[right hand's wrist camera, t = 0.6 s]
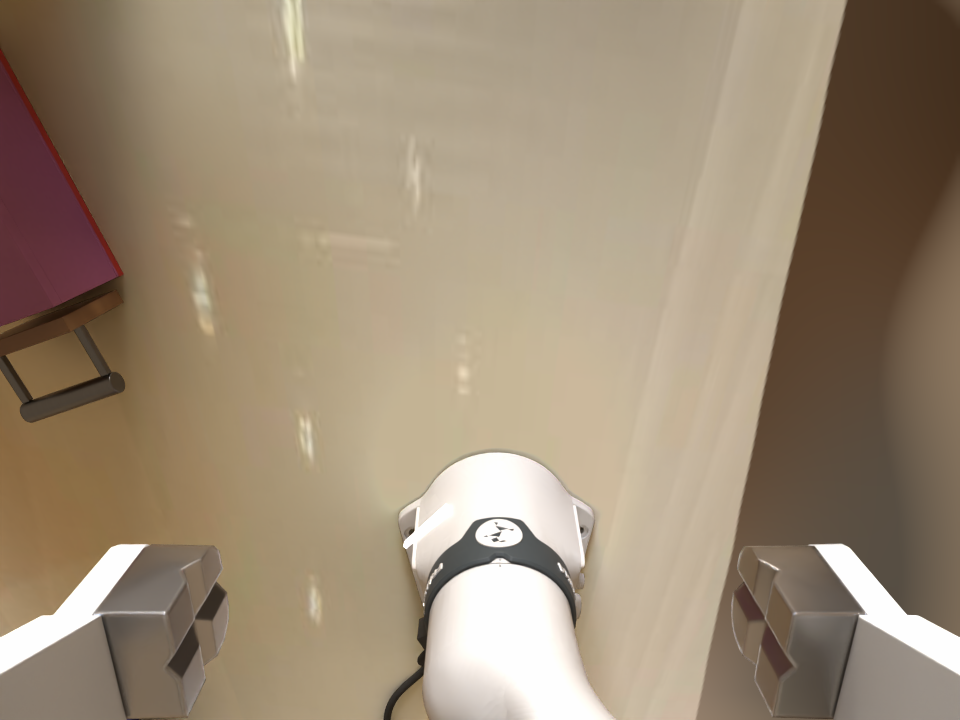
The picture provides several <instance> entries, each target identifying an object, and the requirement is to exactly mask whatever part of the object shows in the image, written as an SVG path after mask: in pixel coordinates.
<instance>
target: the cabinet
mask: <svg viewBox="0 0 960 720" xmlns="http://www.w3.org/2000/svg"><path fill="white" fill-rule="evenodd" d="M121 275H123V272H122V270H121V268H120V267H119V265H118V263H117V261H116V259H115V258H114V256H113V254H112V252H111V250H110V248H109V247H108V245H107V243H106V241H105V239H104V237H103V236H102V234H101V232H100V230H99V228H98V226H97V225H96V223H95V221H94V219H93V217H92V215H91V214H90V212H89V210H88V208H87V206H86V204H85V203H84V201H83V199H82V197H81V195H80V193H79V192H78V190H77V188H76V186H75V184H74V182H73V181H72V179H71V177H70V175H69V173H68V171H67V170H66V168H65V166H64V164H63V162H62V160H61V159H60V157H59V155H58V153H57V151H56V149H55V148H54V146H53V144H52V142H51V140H50V139H49V137H48V135H47V133H46V131H45V129H44V128H43V126H42V124H41V122H40V120H39V118H38V117H37V115H36V113H35V111H34V109H33V107H32V106H31V104H30V102H29V100H28V98H27V96H26V95H25V93H24V91H23V89H22V87H21V85H20V84H19V82H18V80H17V78H16V76H15V74H14V73H13V71H12V69H11V67H10V65H9V63H8V62H7V60H6V58H5V56H4V54H3V52H2V51H1V49H0V326H3V325H6V324H9V323H11V322H14V321H17V320H20V319H23V318H25V317H28V316H31V315H34V314H36V313H39V312H42V311H45V310H47V309H50V308H53V307H55V306H57V305H59V304H62V303H64V302H66V301H68V300H70V299H72V298H74V297H76V296H78V295H81V294H83V293H85V292H87V291H89V290H91V289H93V288H95V287H97V286H100V285H102V284H104V283H106V282H108V281H110V280H112V279H114V278H116V277H119V276H121Z"/></svg>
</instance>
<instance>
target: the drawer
mask: <svg viewBox="0 0 960 720" xmlns="http://www.w3.org/2000/svg"><path fill="white" fill-rule="evenodd" d="M122 303H123V301H122V299H121V297H120V295H119V293H118V292H117V290H114V291H111V292H108V293H105V294H103V295H100V296H97V297H94V298H92V299H89V300H86V301H83V302H80V303H78V304H75V305H72V306H69V307H67V308H64V309H61V310H58V311H56V312H53V313H50V314H47V315H44V316H42V317H39V318H36V319H33V320H31V321H28V322H25V323H23V324H21V325H19V326H17V327H14V328H12V329H10V330H8V331H6V332H4V333H2V334H0V369H1V371H2V372H3V374H4V375H5V377H6V379H7V380H8V382H9V383H10V385H11V386H12V388H13V389H14V391H15V392H16V394H17V396H18V397H19V399H20V400H21V402H22V403H23V404H22V405H21V407H20V413H21V416H22V417H23V419H24V420H25V421H27V422H30V423H33V422H36V421H39V420H42V419H45V418H48V417H51V416H53V415H56V414H59V413H62V412H65V411H68V410H71V409H74V408H77V407H80V406H83V405H86V404H89V403H92V402H95V401H98V400H100V399H103V398H106V397H109V396H112V395H115V394H118V393H121V392H123V391H124V389H125V382H124V380H123V378H122V376H121V375H120V374H119V373H117V372H112V373H111V370H110V369H109V367H108V365H107V364H106V362H105V360H104V358H103V357H102V355H101V353H100V352H99V350H98V348H97V346H96V345H95V343H94V341H93V340H92V338H91V336H90V334H89V333H88V331H87V329H86V328H85V326H84V324H86V323H88V322H89V321H91V320H93V319H95V318H97V317H98V316H100V315H102V314H104V313H106V312H107V311H109V310H111V309H113V308H115V307H116V306H118V305H120V304H122ZM73 330H74V331H75V333H76V335H77V336H78V338H79V340H80V341H81V343H82V345H83V347H84V348H85V350H86V352H87V353H88V355H89V357H90V358H91V360H92V362H93V363H94V365H95V367H96V369H97V370H98V372H99V374H100V375H101V376H100V377H97V378H94V379H91V380H88V381H86V382H83V383H80V384H77V385H74V386H71V387H68V388H65V389H62V390H59V391H57V392H54V393H51V394H48V395H45V396H42V397H39V398H36V399H33V398H32V396H31V394H30V393H29V391H28V390H27V388H26V387H25V385H24V383H23V382H22V380H21V379H20V377H19V376H18V374H17V373H16V371H15V369H14V368H13V366H12V365H11V363H10V362H9V360H8V358H7V357H6V355H7V354H10V353H13V352H16V351H18V350H21V349H24V348H27V347H30V346H32V345H35V344H38V343H41V342H44V341H46V340H49V339H52V338H55V337H58V336H60V335H63V334H66V333H69V332H71V331H73ZM32 399H33V400H32Z"/></svg>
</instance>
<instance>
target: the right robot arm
mask: <svg viewBox="0 0 960 720" xmlns="http://www.w3.org/2000/svg"><path fill="white" fill-rule="evenodd" d="M398 524H399V529H400V532H401V535H402V539H403V542H404V547H405V549H406V552H407V555H408V559H409V562H410V565H411V568H412V572H413V575H414V578H415V582H416V585H417V588H418V592H419V595H420V598H421V602H422V605H423V608H424V617H423V618H421V619H419V627H418V636H417V640H418V641H419V642H420V644H421V645H422V647H423V648H424V651H423V652H422V653H421V654H420V655H419V657H418V661H417V662H418V664H419V665H421V666H422V667H421V668H420V669H419V670H418V671H417V672H416V673H415V674H414V675H412V676H411V677H410V678H409V679H408V680H407V681H405V682H404V683H403V684H402V685H401V686H400V687H399V688H398V689H397V690H396V692H395V693H394V694H393V695H392V697H391V698H390V700H389V702H388V704H387V706H386V709H385V713H384V720H390V718H391V713H392V710H393V707H394V705H395V703H396V701H397V700H398V698H399V697H400V696H401V695H402V694H403V693H404V692H405V691H406V690H407V689H408V688H409V687H410V686H411V685H413V684H414V683H415V682H416V681H417V680H419V679H420V678H421V677H422V676H423V675H424V676H423V685H422V694H423V701H424V706H425V709H426V713H427V715H428V718H429V720H616V719H615V718H614V717H613V716H612V715H611V713H610V712H609V711H608V710H607V708H606V707H605V706H604V705H603V703H602V702H601V701H600V699H599V698H598V696H597V695H596V693H595V692H594V690H593V688H592V686H591V684H590V682H589V680H588V677H587V674H586V671H585V668H584V665H583V661H582V658H581V654H580V651H579V647H578V643H577V639H576V634H575V630H574V629H575V625H576V619H578V618H579V616H580V613H581V596H580V595H579V594H578V593H575V589H583V587H584V574H583V573H580V571H581V569H583V568H584V566H585V558H584V557H585V554H586V550H587V547H588V543H589V540H590V536H591V533H592V529H593V526H594V513H593V511H592V509H591V508H590V507H589V506H587V505H586V504H584V503H583V502H581V501H579V500H578V499H576V498H574V497H572V496H571V495H570V494H569V493H568V492H567V491H566V490H565V489H564V487H563V486H562V484H561V483H560V482H559V480H558V479H557V478H556V477H555V476H554V475H553V474H552V473H551V472H550V471H549V470H548V469H546V468H545V467H544V466H542V465H540V464H539V463H537V462H535V461H533V460H531V459H528V458H526V457H523V456H519V455H515V454H509V453H484V454H479V455H474V456H471V457H468V458H465V459H463V460H461V461H459V462H457V463H455V464H453V465H452V466H450V467H448V468H447V469H446V470H445V471H443V472H442V473H441V474H440V475H439V476H438V477H437V478H436V479H435V481H434V482H433V483H432V485H431V486H430V487H429V489H428V490H427V492H426V493H425V494H424V495H423V496H422V497H421V498H420V499H418V500H416V501H415V502H413V503H411V504H410V505H408V506H407V507H405V508H404V509H403V510H402V511H401V512H400V514H399V517H398ZM580 527H582V529H581V530H580ZM411 529H415V531H414V532H412V531H411ZM222 569H223V566H222V561H221V556H220V552H219V550H218V549H217V548H216V547H215V546H206V545H160V544H151V545H147V544H119V545H116V546H113V547H111V548H110V549H109V550H108V551H107V552H106V554H105V555H104V556H103V557H102V558H101V559H100V561H99V562H98V563H97V564H96V565H95V567H94V568H93V569H92V570H91V571H90V572H89V574H88V575H87V576H86V577H85V578H84V579H83V581H82V582H81V583H80V584H79V585H78V586H77V588H76V589H75V590H74V591H73V592H72V593H71V595H70V596H69V597H68V598H67V599H66V601H65V602H64V603H63V604H62V605H61V606H60V608H59V609H58V610H57V611H56V612H55V613H54V615H45V616H40V617H38V618H37V619H35V620H33V621H31V622H29V623H27V624H25V625H23V626H21V627H19V628H18V629H16V630H14V631H12V632H10V633H8V634H6V635H4V636H2V637H0V720H127V719H144V718H178V717H188V715H189V713H190V711H191V709H192V707H193V705H194V703H195V701H196V699H197V697H198V695H199V693H200V691H201V689H202V687H203V684H204V682H205V680H206V677H205V671H204V665H205V664H207V663H208V662H209V661H211V660H212V659H214V658H215V657H216V656H217V655H218V653H219V651H220V649H221V647H222V644H223V642H224V639H225V635H226V630H227V626H228V621H229V604H228V597H227V592H226V591H225V590H224V589H223V588H222V587H221V586H220V585H219V584H218V583H217V582H216V580H217V578H218V577H219V575H220V573H221V571H222ZM737 569H738V571H739V573H740V575H741V577H742V578H743V580H744V582H743V583H742V584H741V585H740V586H739V587H738V588H737V589H736V590H735V591H734V592H733V598H732V606H731V616H732V627H733V632H734V635H735V639H736V642H737V645H738V647H739V649H740V651H741V653H742V655H743V656H744V657H745V658H746V659H748V660H749V661H751V662H752V663H753V664H755V665H756V672H755V677H754V680H755V682H756V684H757V686H758V689H759V691H760V693H761V695H762V697H763V699H764V701H765V703H766V705H767V707H768V709H769V711H770V713H771V715H772V717H781V718H815V719H833V720H960V638H959V637H958V636H956V635H954V634H952V633H950V632H948V631H946V630H944V629H942V628H941V627H939V626H937V625H935V624H933V623H931V622H929V621H927V620H925V619H923V618H921V617H920V616H915V615H914V616H913V615H906V613H905V612H904V611H903V610H902V609H901V608H900V606H899V605H898V604H897V603H896V602H895V601H894V599H893V598H892V597H891V596H890V595H889V594H888V592H887V591H886V590H885V589H884V588H883V587H882V585H881V584H880V583H879V582H878V581H877V579H876V578H875V577H874V576H873V575H872V574H871V572H870V571H869V570H868V569H867V568H866V567H865V565H864V564H863V563H862V562H861V561H860V560H859V558H858V557H857V556H856V555H855V554H854V553H853V551H852V550H851V549H850V548H849V547H847V546H845V545H843V544H819V545H808V546H744V547H743V549H742V551H741V553H740V555H739V560H738V566H737Z"/></svg>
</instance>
